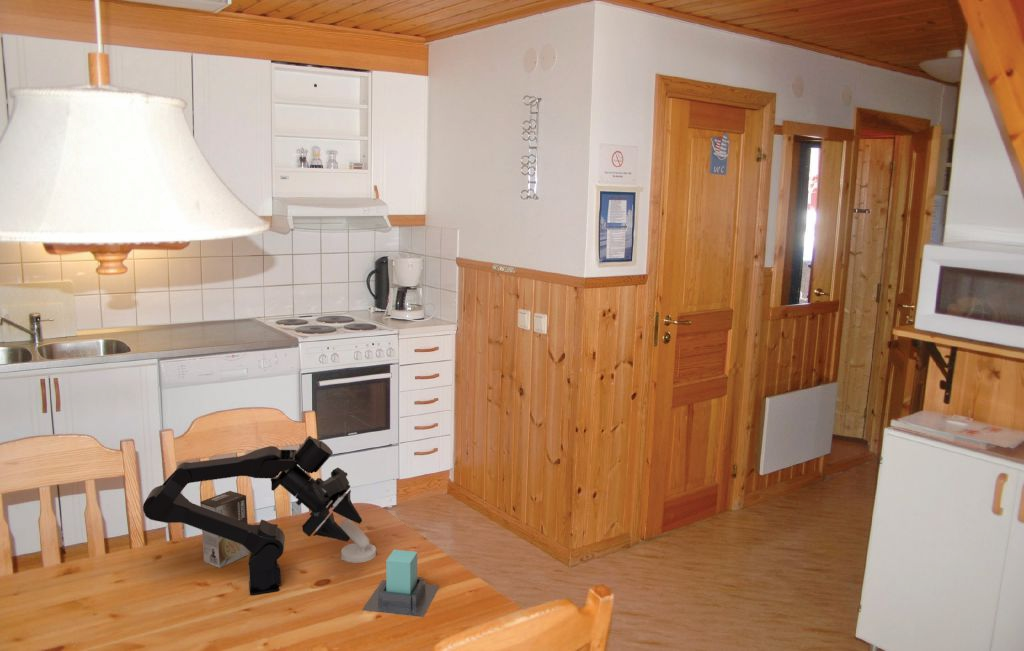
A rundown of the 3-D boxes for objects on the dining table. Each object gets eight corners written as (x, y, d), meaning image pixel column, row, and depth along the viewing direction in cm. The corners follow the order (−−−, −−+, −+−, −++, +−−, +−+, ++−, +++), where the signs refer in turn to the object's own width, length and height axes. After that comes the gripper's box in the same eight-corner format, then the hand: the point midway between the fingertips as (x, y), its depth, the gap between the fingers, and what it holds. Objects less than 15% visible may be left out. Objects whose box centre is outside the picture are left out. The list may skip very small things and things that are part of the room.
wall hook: (356, 512, 204) (382, 522, 198) (356, 547, 206) (383, 558, 200) (329, 523, 198) (357, 533, 192) (330, 558, 199) (357, 570, 193)
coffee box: (233, 548, 204) (230, 489, 201) (249, 554, 200) (247, 495, 198) (202, 562, 196) (199, 500, 193) (219, 569, 193) (216, 506, 190)
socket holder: (361, 615, 173) (361, 597, 172) (382, 584, 187) (382, 567, 186) (423, 622, 171) (423, 604, 170) (439, 590, 184) (439, 573, 184)
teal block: (386, 602, 176) (386, 560, 175) (394, 590, 182) (393, 549, 180) (410, 604, 175) (410, 562, 174) (417, 592, 181) (417, 551, 179)
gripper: (309, 479, 171) (364, 525, 172) (337, 449, 189) (387, 491, 190) (279, 513, 173) (333, 559, 174) (310, 480, 192) (359, 522, 192)
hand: (355, 530), depth 182 cm, fingers open, 9 cm apart
